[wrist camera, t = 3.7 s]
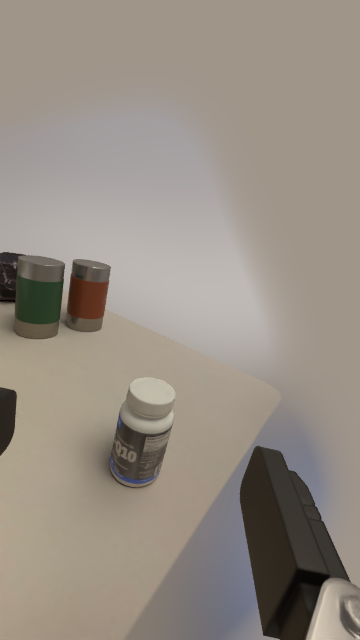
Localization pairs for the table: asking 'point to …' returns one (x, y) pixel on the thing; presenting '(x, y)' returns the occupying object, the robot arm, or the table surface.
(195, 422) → the table surface
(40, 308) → the can green
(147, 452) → the pill bottle
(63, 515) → the table surface
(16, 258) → the mineral specimen
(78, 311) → the can rust
